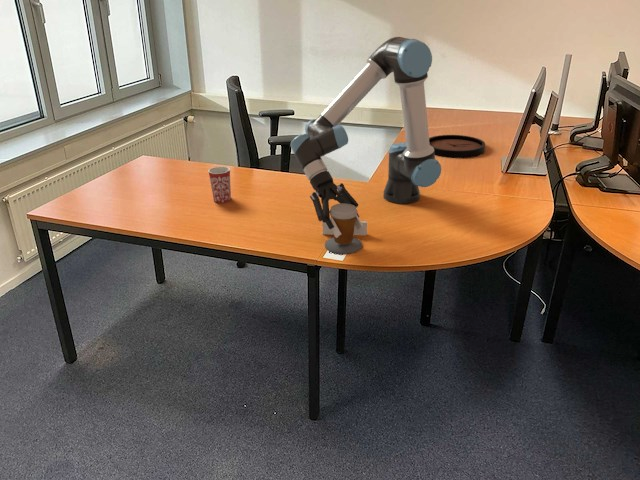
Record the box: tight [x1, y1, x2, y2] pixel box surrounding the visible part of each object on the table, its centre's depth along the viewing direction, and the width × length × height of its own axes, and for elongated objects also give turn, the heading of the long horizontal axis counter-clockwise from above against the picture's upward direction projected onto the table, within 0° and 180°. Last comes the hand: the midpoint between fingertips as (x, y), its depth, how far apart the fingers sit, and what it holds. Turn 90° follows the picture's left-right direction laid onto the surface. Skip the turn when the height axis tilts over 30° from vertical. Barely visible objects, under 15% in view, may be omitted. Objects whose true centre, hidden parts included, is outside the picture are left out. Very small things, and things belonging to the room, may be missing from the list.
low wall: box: [321, 220, 368, 236], centre depth 191 cm, size 16×1×5 cm, turn 85°
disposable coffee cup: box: [329, 203, 359, 244], centre depth 181 cm, size 10×10×12 cm
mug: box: [207, 165, 232, 204], centre depth 223 cm, size 13×9×14 cm
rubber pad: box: [324, 236, 363, 255], centre depth 184 cm, size 13×13×1 cm
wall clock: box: [429, 134, 486, 159], centre depth 282 cm, size 31×4×31 cm
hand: (349, 231), depth 179 cm, fingers closed on disposable coffee cup, 9 cm apart
